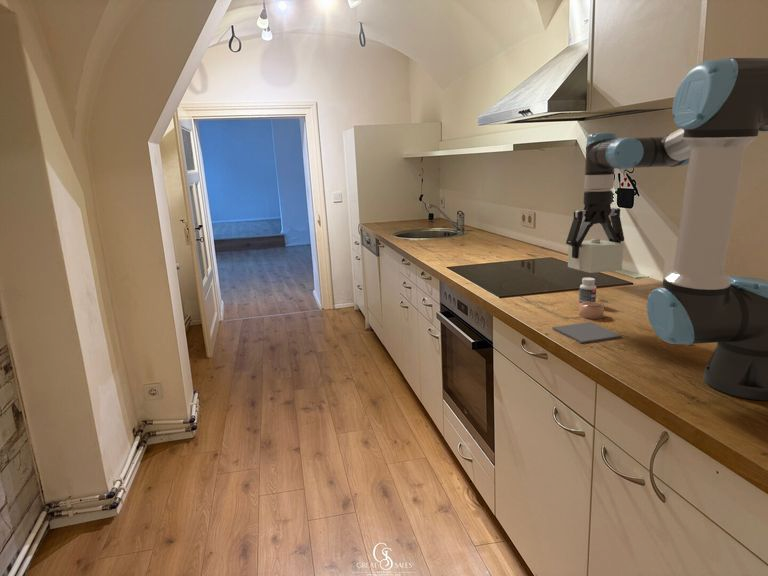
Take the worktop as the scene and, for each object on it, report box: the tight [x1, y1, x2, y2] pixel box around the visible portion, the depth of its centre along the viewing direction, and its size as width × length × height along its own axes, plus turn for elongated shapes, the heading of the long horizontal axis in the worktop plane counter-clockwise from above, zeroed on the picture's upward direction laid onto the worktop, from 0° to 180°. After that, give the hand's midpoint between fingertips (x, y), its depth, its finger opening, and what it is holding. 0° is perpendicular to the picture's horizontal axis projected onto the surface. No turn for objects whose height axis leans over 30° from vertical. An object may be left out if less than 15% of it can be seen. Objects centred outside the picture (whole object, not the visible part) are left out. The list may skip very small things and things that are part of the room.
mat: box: [552, 321, 623, 344], centre depth 143 cm, size 13×13×1 cm
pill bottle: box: [578, 277, 597, 305], centre depth 170 cm, size 5×5×9 cm
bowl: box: [578, 302, 605, 320], centre depth 158 cm, size 7×7×4 cm
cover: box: [567, 238, 625, 274], centre depth 146 cm, size 10×10×8 cm
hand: (593, 267), depth 147 cm, fingers closed on cover, 10 cm apart
